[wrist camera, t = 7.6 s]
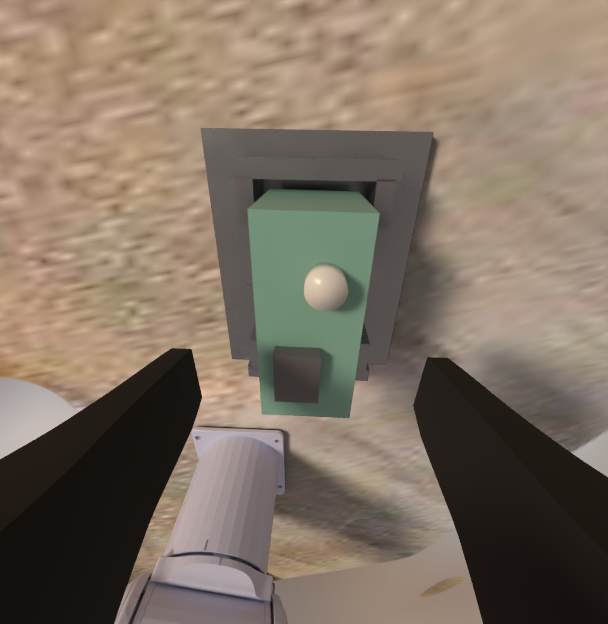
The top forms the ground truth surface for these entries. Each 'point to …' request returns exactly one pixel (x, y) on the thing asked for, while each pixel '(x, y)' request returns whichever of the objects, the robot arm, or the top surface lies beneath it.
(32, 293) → the top surface
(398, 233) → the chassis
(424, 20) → the top surface
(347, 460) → the top surface
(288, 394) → the green knobbed block
